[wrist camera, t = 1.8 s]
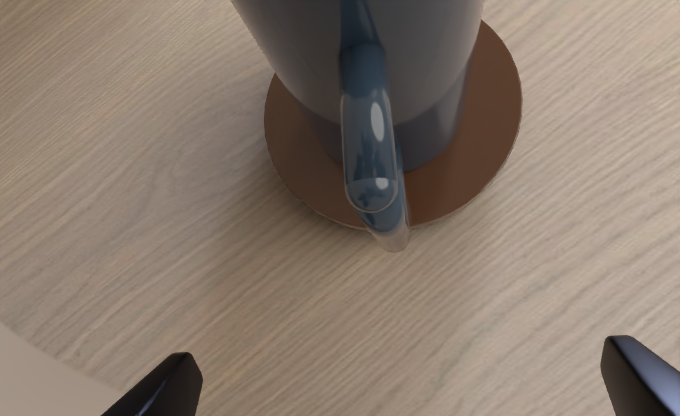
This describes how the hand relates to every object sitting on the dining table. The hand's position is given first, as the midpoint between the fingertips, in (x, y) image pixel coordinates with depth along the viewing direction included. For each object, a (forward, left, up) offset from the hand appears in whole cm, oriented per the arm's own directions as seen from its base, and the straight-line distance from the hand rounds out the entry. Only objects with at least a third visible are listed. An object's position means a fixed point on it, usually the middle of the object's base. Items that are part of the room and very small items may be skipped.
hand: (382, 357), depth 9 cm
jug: (+11, -1, -12) cm, 17 cm away
